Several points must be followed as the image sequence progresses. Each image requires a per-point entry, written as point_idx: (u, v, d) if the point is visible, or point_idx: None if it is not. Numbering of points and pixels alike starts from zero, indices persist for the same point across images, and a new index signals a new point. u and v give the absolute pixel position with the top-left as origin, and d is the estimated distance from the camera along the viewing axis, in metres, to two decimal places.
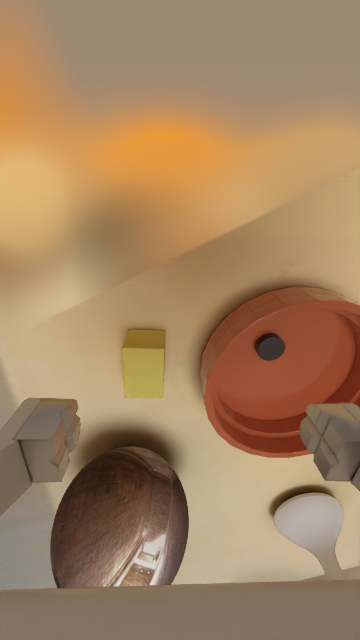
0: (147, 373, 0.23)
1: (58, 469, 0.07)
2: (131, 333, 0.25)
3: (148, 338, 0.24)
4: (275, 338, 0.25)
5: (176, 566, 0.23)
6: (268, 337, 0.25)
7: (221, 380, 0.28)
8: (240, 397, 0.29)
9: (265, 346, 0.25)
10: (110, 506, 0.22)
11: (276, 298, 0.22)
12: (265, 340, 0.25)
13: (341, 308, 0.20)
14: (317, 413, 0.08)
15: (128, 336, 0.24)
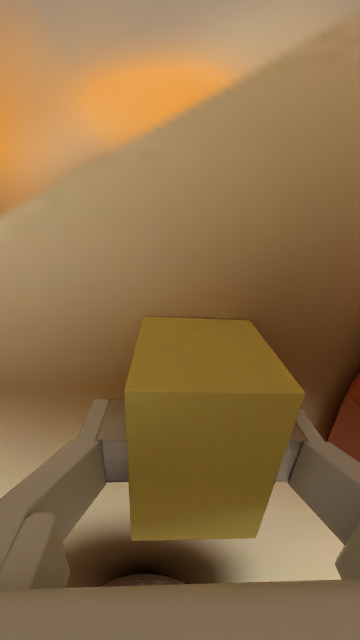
0: (218, 476, 0.06)
1: None
2: (154, 328, 0.08)
3: (217, 347, 0.07)
4: None
5: None
6: None
7: None
8: None
9: None
10: None
11: None
12: None
13: None
14: None
15: (145, 338, 0.07)
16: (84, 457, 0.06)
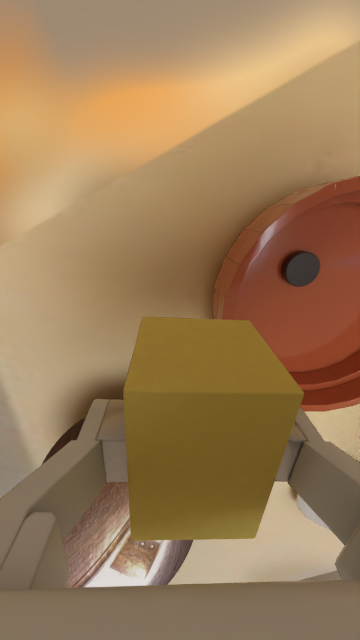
0: (218, 476, 0.06)
1: None
2: (154, 329, 0.08)
3: (216, 347, 0.07)
4: (309, 253, 0.20)
5: (188, 542, 0.18)
6: (299, 253, 0.20)
7: (238, 318, 0.23)
8: None
9: (295, 265, 0.20)
10: None
11: (315, 187, 0.17)
12: (295, 256, 0.20)
13: None
14: None
15: (145, 338, 0.07)
16: (84, 457, 0.06)
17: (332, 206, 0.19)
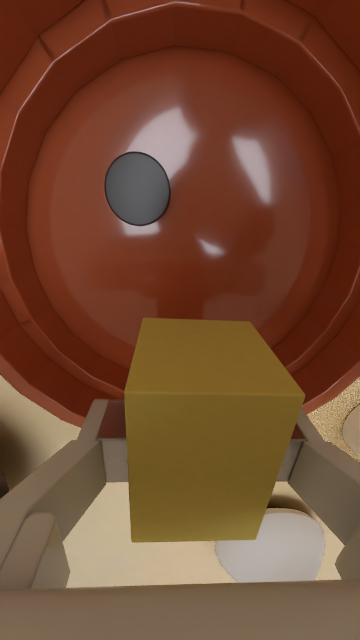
0: (218, 477, 0.06)
1: None
2: (154, 330, 0.08)
3: (217, 348, 0.07)
4: (140, 154, 0.10)
5: None
6: (122, 154, 0.10)
7: (59, 286, 0.13)
8: (109, 327, 0.15)
9: (120, 180, 0.10)
10: None
11: None
12: (116, 161, 0.10)
13: None
14: None
15: (145, 340, 0.07)
16: (84, 457, 0.06)
17: (180, 55, 0.10)
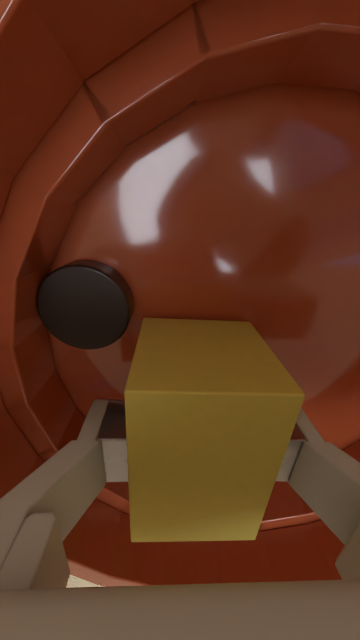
0: (218, 477, 0.06)
1: None
2: (154, 330, 0.08)
3: (217, 348, 0.07)
4: (94, 271, 0.07)
5: None
6: (69, 265, 0.07)
7: (87, 386, 0.10)
8: None
9: (60, 295, 0.07)
10: None
11: None
12: (58, 272, 0.07)
13: None
14: None
15: (145, 339, 0.07)
16: (84, 458, 0.06)
17: (282, 96, 0.06)
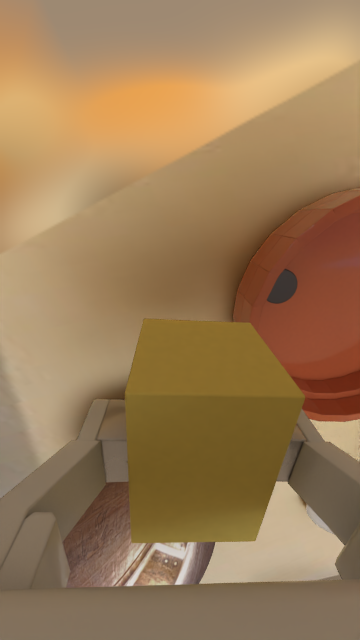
0: (218, 478, 0.06)
1: None
2: (155, 331, 0.08)
3: (217, 350, 0.07)
4: (289, 272, 0.19)
5: (208, 556, 0.17)
6: None
7: (259, 324, 0.22)
8: (280, 347, 0.23)
9: None
10: None
11: (350, 192, 0.16)
12: None
13: None
14: None
15: (146, 341, 0.07)
16: (84, 458, 0.06)
17: None
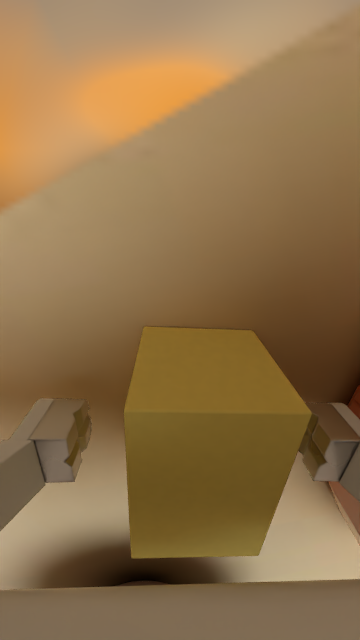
0: (221, 495, 0.06)
1: (72, 469, 0.07)
2: (155, 340, 0.07)
3: (219, 360, 0.07)
4: None
5: None
6: None
7: None
8: None
9: None
10: None
11: None
12: None
13: None
14: None
15: (146, 351, 0.07)
16: (11, 457, 0.06)
17: None
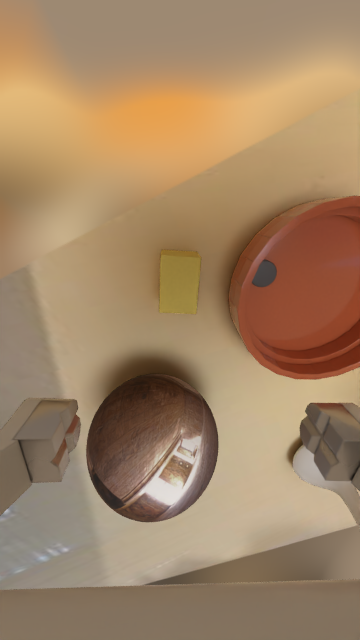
0: (183, 284, 0.24)
1: (58, 469, 0.07)
2: (165, 251, 0.25)
3: (183, 253, 0.25)
4: (270, 262, 0.26)
5: (210, 470, 0.24)
6: (263, 260, 0.26)
7: (249, 304, 0.29)
8: (266, 323, 0.30)
9: (258, 269, 0.26)
10: (148, 408, 0.23)
11: (310, 204, 0.22)
12: None
13: None
14: (317, 412, 0.08)
15: (163, 251, 0.25)
16: None
17: (324, 217, 0.25)
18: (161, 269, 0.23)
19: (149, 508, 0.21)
